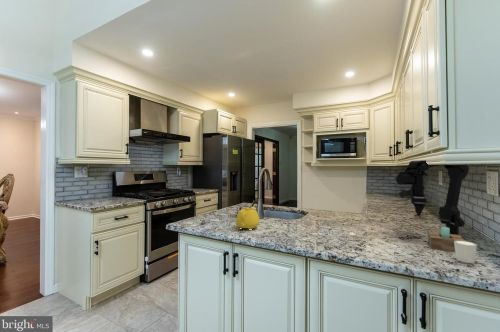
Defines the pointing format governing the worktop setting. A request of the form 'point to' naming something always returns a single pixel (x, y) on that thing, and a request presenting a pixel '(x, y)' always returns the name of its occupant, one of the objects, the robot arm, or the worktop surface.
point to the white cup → (465, 251)
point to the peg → (445, 232)
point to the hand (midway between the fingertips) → (417, 214)
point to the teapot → (247, 218)
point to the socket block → (443, 241)
